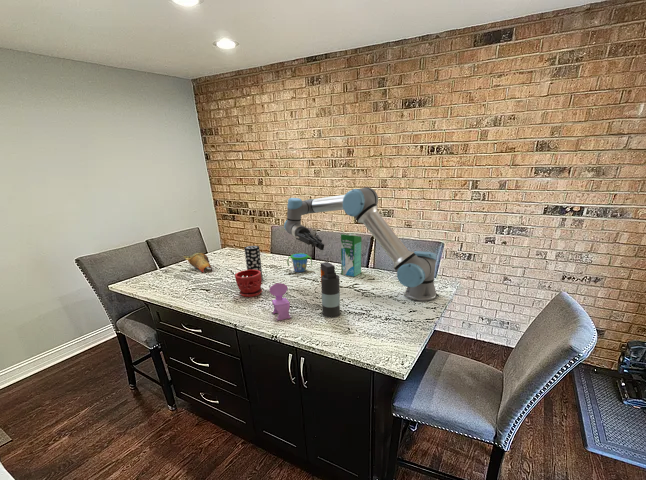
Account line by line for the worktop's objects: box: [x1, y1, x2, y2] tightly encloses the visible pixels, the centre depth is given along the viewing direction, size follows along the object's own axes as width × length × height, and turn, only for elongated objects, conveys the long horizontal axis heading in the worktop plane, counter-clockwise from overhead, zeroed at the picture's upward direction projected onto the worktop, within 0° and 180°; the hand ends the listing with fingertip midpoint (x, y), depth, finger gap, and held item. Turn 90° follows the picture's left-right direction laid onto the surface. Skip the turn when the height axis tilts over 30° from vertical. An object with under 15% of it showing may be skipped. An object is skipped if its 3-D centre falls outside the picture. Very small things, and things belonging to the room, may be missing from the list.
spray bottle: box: [320, 261, 341, 318], centre depth 152 cm, size 11×8×23 cm
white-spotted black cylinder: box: [243, 245, 264, 282], centre depth 195 cm, size 8×8×20 cm
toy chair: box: [268, 282, 292, 321], centre depth 151 cm, size 8×9×15 cm
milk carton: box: [340, 232, 362, 277], centre depth 204 cm, size 9×9×25 cm
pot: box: [182, 251, 213, 273], centre depth 219 cm, size 17×11×18 cm
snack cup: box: [286, 252, 313, 273], centre depth 213 cm, size 16×10×10 cm
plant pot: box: [234, 269, 263, 298], centre depth 177 cm, size 13×13×12 cm
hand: (322, 247), depth 160 cm, fingers closed
